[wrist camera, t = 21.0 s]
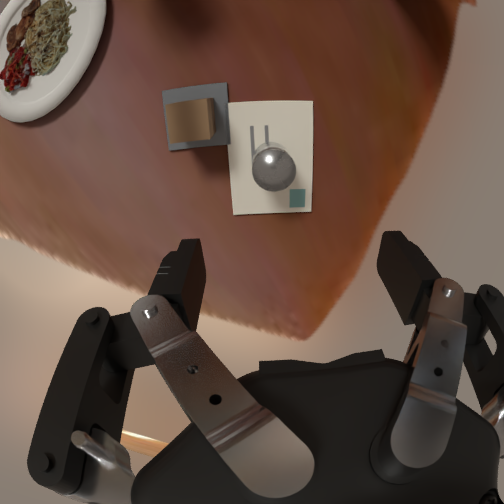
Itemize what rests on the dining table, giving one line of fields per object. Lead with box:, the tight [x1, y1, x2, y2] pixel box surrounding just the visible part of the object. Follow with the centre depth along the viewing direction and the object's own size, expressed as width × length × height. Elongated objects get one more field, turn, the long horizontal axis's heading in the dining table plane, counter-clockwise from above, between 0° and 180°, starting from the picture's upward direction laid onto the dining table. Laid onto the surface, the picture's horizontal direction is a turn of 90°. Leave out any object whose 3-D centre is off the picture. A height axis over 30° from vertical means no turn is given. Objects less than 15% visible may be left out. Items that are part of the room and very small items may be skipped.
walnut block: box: [165, 98, 216, 144], centre depth 32 cm, size 5×5×6 cm
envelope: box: [224, 101, 313, 215], centre depth 39 cm, size 12×17×1 cm
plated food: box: [0, 0, 106, 123], centre depth 23 cm, size 30×30×3 cm
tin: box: [252, 142, 296, 192], centre depth 36 cm, size 5×5×6 cm
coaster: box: [162, 82, 231, 151], centre depth 35 cm, size 9×9×1 cm
